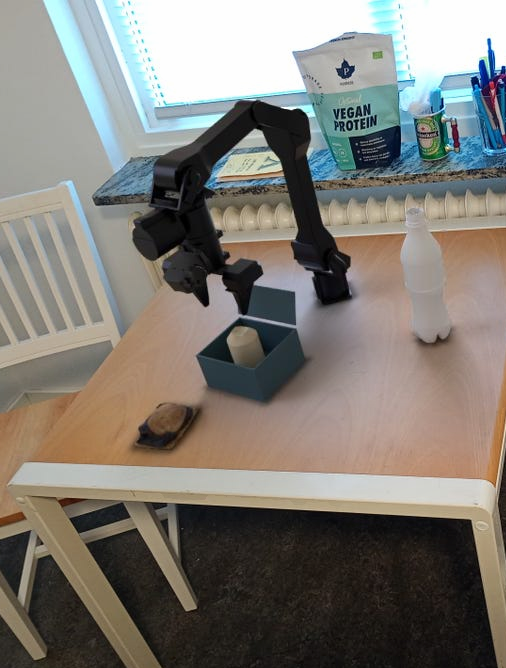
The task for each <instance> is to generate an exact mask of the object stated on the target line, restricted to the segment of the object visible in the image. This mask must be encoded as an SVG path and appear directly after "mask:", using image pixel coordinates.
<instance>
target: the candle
mask: <svg viewBox="0 0 506 668" xmlns="http://www.w3.org/2000/svg"><path fill="white" fill-rule="evenodd" d="M227 343H228V346H229V349H230V352H231V354H232V357H233V360H234V363H235V364H236V365H240V366H244V367H249V368H253V369H254V368H255V367H256V366H257V365H258V364H259V363H260V362H261V361H262V360H263V359H264V358H265V355H264V352H263V349H262V346H261V343H260V340H259V337H258V334H257V331H256V330H255V329H253V328H250V327H242V326H241V327H235V328H234V329H233V330H232V331H231V333H230V335H229V336H228V338H227Z"/></svg>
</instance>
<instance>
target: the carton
mask: <svg viewBox="0 0 506 668" xmlns="http://www.w3.org/2000/svg"><path fill="white" fill-rule="evenodd" d="M241 326H242V327H250V328H253V329H255V330H256V331H257V334H258V337H259V340H260V343H261V346H262V349H263V352H264V355H265V358H264V359H263V360H262V361H261V362H260V363H259V364H258V365H257V366H256V367H255V368H254V369H253V368H249V367H244V366H240V365H236V364H235V363H234V360H233V357H232V354H231V352H230V349H229V346H228V343H227V338H228V336H229V335H230V333H231V331H232V330H233V329H234V328H235V327H241ZM195 357H196V358H195V359H196V361H197V363H198V365H199V367H200V369H201V372H202V375H203V378H204V380H205V383H206V385H207V387H208V388H210V389H214V390H216V391H217V390H218V391H221V392H225V393H229V394H232V395H236V396H239V397H243V398H246V399H250V400H254V401H258V402H261V403H264V404H265V403H267V402H268V401H269V400H270V399H271V397H272V396H274V395H275V393H276V392H277V391H278V390H279V389H280V388H281V387H282V386H283V385H284V384H286V382H287V381H288V380H289V379H290V378H291V377H292V376H293V375H294V374H295V373H296V372H297V370H299V368H301V366H302V365H303V364H304V363H305V362H306V361H307V360H306V356H305V352H304V349H303V345H302V342H301V339H300V336H299V332H298V329H297V328H295V327H291V326H286V325H281V324H276V323H272V322H267V321H261V320H257V319H252V318H247V317H244V316H243V317H242V316H238V317H237V319H235V320H234V321H233V322H232V323H231V324H230V325H228V326H227V327H226V328H225V329H224V330H223V331H222V332H221V333H219V334H218V335H217V336H216V337H215V338H213V340H211V341H210V342H208V344H207V345H205V347H204V348H202V349H201V350H200V351H199V352H198V353H197V354H196V355H195Z"/></svg>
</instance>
